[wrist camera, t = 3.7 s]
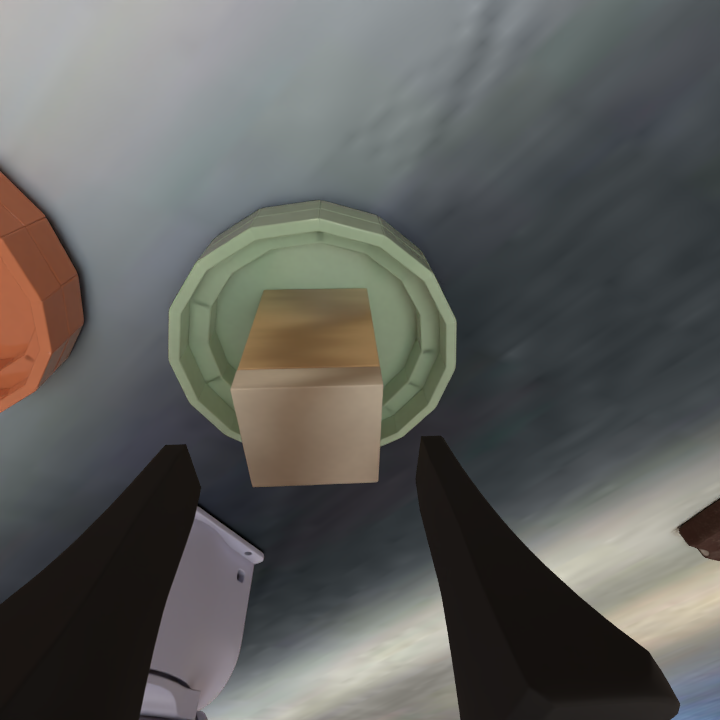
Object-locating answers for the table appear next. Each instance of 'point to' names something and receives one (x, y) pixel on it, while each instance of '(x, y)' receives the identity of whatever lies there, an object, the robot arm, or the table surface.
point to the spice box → (310, 389)
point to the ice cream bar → (704, 532)
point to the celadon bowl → (313, 271)
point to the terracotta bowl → (33, 298)
